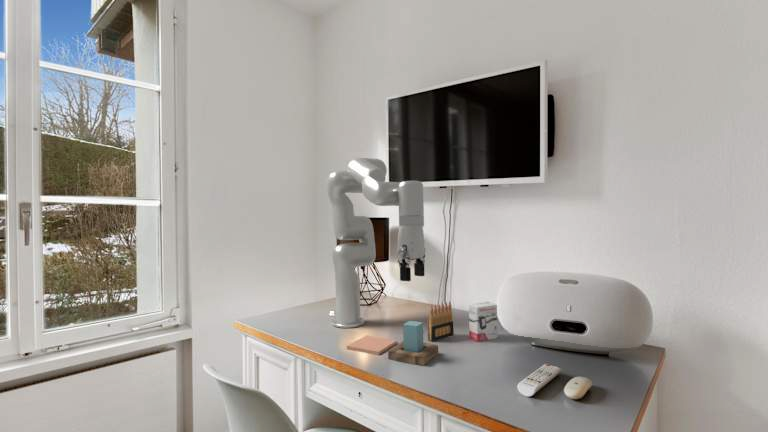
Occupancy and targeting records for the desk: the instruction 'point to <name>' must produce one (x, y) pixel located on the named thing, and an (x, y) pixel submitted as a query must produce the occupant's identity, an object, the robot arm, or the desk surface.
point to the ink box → (483, 321)
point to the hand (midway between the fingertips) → (412, 278)
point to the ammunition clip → (440, 322)
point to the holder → (413, 354)
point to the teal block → (413, 336)
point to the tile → (372, 344)
